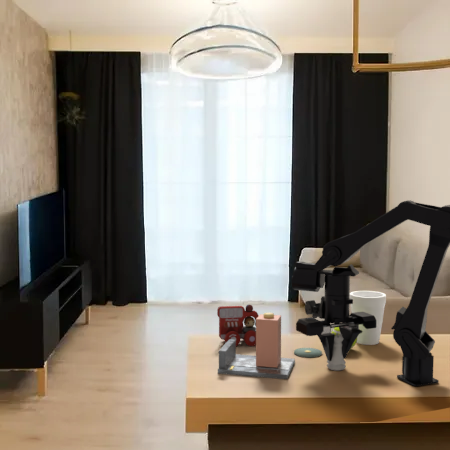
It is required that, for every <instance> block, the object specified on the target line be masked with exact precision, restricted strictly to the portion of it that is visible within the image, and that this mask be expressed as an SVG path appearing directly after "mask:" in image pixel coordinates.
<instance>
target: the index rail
mask: <svg viewBox="0 0 450 450" xmlns="http://www.w3.org/2000/svg"><path fill="white" fill-rule="evenodd" d="M236 348H237V346H236V340H234V339H229V340H228V341H227V342H226V343H225V342H224V345H222V346H221V348H220V349H219V350H218V368H217V374H221V375H231V376H232V375H233V376H243V377H256V378H269V379H280V380H288V379H289V376H290V374H291V373H292V370H293V367H294V366H295V363H296V359H295V358H290V357H289V358H288V357H281V362H280V364H279V366H278V367H277V368H276V367H263V366H256V355H251V354H250V355H249V354H239V353H237V352H236V351H237V349H236Z"/></svg>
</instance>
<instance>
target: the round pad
mask: <svg viewBox="0 0 450 450" xmlns="http://www.w3.org/2000/svg"><path fill="white" fill-rule="evenodd" d="M293 354H294V355H295V356H297V357H302V358H310V359H311V358H318V357H321V356H322V355H323V351H322V350H320V349H318V348H314V347H300V348H296V349H295V350H293Z"/></svg>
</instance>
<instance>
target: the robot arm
mask: <svg viewBox="0 0 450 450" xmlns="http://www.w3.org/2000/svg"><path fill="white" fill-rule="evenodd" d="M408 220H409V221H411V222H416V223H418V224H422V225H425V226H429V231H428V232H429V234H428V236H429V237H428V238H429V239H428V247H427V249H426V253H425V256H424V259H423V262H422V264H421V268H420V271H419V273H418V277H417V280H416V283H415V285H414V289H413V291H412V295H411V298H410V301H409V304H408V305H407V306H406V307H404V306H402V307H400V309H399V310H398V311H396V316H395V321H394V324H393V326H392V327H391V330H393V331H392V332H393V333H392V337H393V340H394V342H395V343H396V344H397V345H398V346H399V347H400V349H401V352H402V356H401V357H402V359H401V360H402V361H401V363H402V364H401V373H402V374H397V375H396V378H397V379H399V380H401V381H403V382H405V383H407V384H409V385H411V386H412V387H413V386H414V387H421V386H428V385H433V384H438V383H439V379H436V378H435V377H434V357H435V356H434V355H433V353H431V351H432V350H433V348H434V345H435V343H436V340H435V339H434V338H433V337H432V336H431V335H430V334H429V333H428V332H427V331H426V328H427V321H428V308H429V305H430V301H431V298H432V296H433V293H434V290H435V287H436V284H437V281H438V277H439V275H440V272H441V269H442V267H443V263H444V261H445V258H446V254H447V251H448V250H449V247H450V204H446V205H443V206H437V205H432V204H427V203H426V204H425V203H421V202H416V201H414V200H412V199H411V200H408V199H407V200H404V201H401V202H400V203H398V204H397V206H395V207H393V208H392V209H390V210H389V211H387V212H385V213H384V214H382V215H380V216H379V217H377V218H376V219H374V220H373V221H371V222H369V223H368V224H365V225H364V226H363V227H361V228H359V229H357V230H356V231H355V232H352V233H350V234H347V235H344V236H341V237H339V238H335V239H334V240H331V241H328V242H326V243H325V245H323V247H322V252H321V254H322V255H320V257H319V258H318V260H317V261H316V263H315V262H314V263H312V262H305V261H296V262H295V265H294V266H295V267H294V269H293V272H292V276H291V286H292V289H293V290H294V291H304V292H314V293H315V292H316V293H318V292H319V291H320V290H321V289H323V288H324V296H323V295H321V298H320V302H317V303H316V301H315V300H314V299H313V300H307V301H305V304H304V311H305V314H306V315H307V316H309V315H311V316H312V317H304V318H303V317H302V318H298V320H297V321H296V323H295V330H296V331H297V332H298V333H301V334H303V335H305V336H306V337H307V336H308V337H313V336H314V337H315V336H317V337H318V339H319V341H320V342H321V346H322V348H323V351H324V354H325V356H326V361H327V360H329V361H331V359H332V355H333V345H334V336H335V335H334V334H332V329H334V328H335V327H339V329H340V332H341V335H342V337H343V341H342V355H343V358H344V360H346V358H347V356H348V354H349V352H350V350H351V349H352V348H351V346H352V345H353V343H354V341H355V340H356V338H357V337H358V335H359V334H360V333H362V330H360V329H359V325H360V324H363V326H364V327H365V328H366V329H371V328H376V327H377V320H376V318H375V316H374V315H371V314H368V313H365V312H355V313H352V312H351V313H350V306H351V304H353V299H350V293H351V292H350V291H351V290H350V289H351V287H350V286H351V283H350V282H351V277H356V276H357V275H359V274H360V271H359V270H357V269H356V268H355V267H354V265H353V264H352V263H351V264H349V265H347V267H344V266H342V267H341V265H342V264H345V263H347V262H349V261H350V260H352V259H353V258H354V257H355V256H356V255H357V254H358V253H359V252H360V251H361V250H362V249H363V248H364V247H365V246H367V244H369V243H371V242H373V241H374V240H376V239H378V238H380V237H381V236H382V235H385V234H386V233H387V232H390V231H391V230H393V229H394V228H396V227H397V226H399V225H401V224H403V223H405V222H407V221H408ZM331 266H333V267H334V268H333V269H332V270H331V269H327V268H330V267H331ZM317 318H319V319H322V320H319V319H317ZM350 348H351V349H350Z"/></svg>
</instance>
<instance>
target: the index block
mask: <svg viewBox="0 0 450 450" xmlns="http://www.w3.org/2000/svg"><path fill="white" fill-rule="evenodd" d="M258 315H259V316H258V317H257V319H256V326H255V327H256V345H255V356H256V366H263V367H276V368H277V367H278V366H279V364H280V362H281V358H282V315H280V314H274V313H273V312H263V314H262V313H260V314H258Z"/></svg>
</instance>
